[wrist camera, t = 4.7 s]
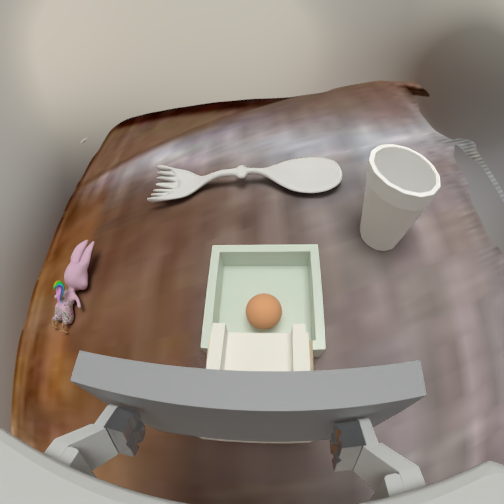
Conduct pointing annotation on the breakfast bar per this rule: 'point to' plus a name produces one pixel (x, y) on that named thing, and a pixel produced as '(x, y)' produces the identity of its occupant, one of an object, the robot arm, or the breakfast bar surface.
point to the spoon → (285, 174)
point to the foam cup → (395, 194)
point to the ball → (263, 311)
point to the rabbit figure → (72, 284)
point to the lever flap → (251, 389)
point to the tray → (265, 289)
